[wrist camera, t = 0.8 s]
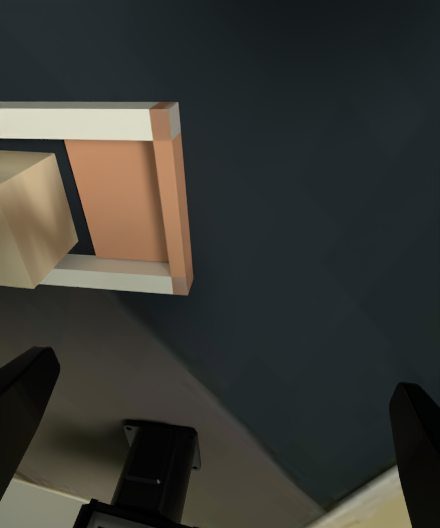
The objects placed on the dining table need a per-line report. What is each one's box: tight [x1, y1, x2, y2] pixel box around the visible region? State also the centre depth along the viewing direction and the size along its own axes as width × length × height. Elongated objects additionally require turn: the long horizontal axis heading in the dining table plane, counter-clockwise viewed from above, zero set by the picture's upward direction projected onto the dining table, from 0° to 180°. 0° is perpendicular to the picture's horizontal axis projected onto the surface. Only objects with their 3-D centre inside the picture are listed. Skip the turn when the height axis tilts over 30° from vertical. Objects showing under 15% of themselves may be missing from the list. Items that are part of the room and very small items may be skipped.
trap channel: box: [0, 102, 193, 295], centre depth 18 cm, size 9×17×2 cm, turn 91°
